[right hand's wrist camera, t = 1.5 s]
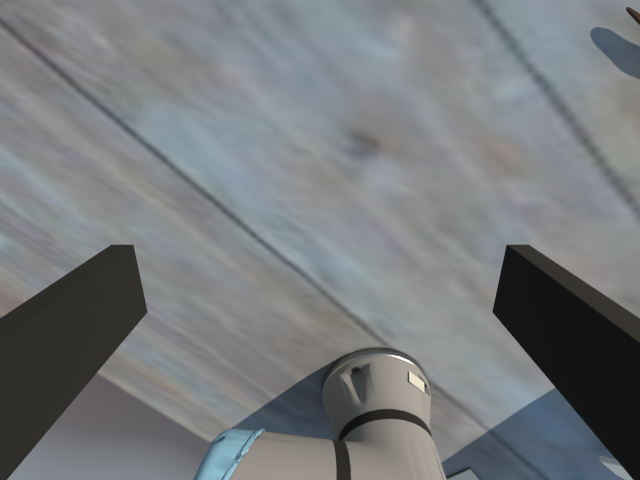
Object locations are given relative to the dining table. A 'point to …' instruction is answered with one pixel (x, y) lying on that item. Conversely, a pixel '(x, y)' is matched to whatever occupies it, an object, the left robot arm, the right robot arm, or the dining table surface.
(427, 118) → the dining table surface
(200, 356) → the dining table surface
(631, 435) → the right robot arm
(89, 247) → the dining table surface
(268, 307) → the dining table surface
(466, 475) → the invitation card
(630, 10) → the fork
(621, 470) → the white plastic object
